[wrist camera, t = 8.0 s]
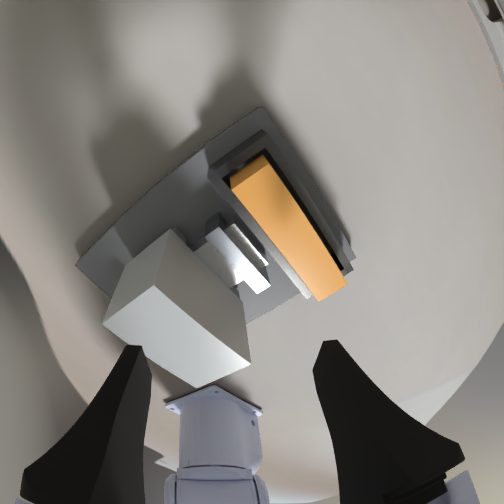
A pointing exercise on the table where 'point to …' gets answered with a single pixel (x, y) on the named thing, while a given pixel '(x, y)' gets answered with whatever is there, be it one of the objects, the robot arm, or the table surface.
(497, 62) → the network device
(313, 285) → the locking tab
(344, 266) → the gray slotted fixture
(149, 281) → the block
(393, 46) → the table surface
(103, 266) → the mounting board
